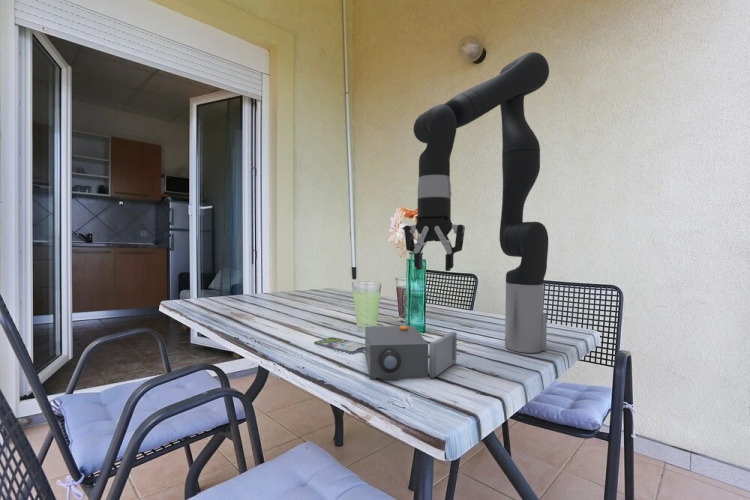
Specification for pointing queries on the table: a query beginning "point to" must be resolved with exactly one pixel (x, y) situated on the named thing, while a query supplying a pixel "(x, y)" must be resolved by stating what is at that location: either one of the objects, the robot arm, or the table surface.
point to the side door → (442, 354)
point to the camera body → (395, 352)
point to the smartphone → (341, 345)
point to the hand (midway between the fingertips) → (433, 269)
